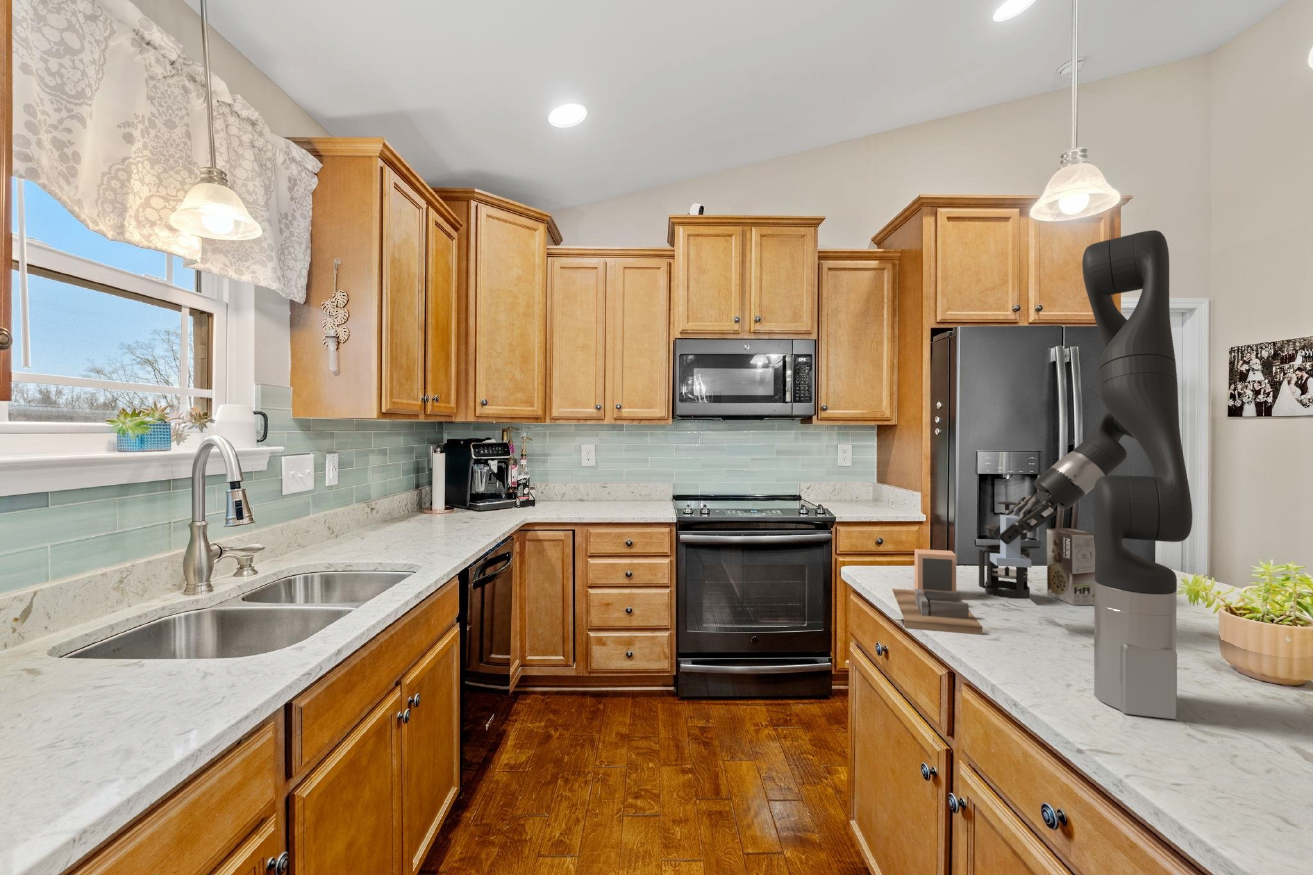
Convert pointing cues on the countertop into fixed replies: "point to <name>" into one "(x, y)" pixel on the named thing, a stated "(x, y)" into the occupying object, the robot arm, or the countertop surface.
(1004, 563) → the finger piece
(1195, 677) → the countertop surface
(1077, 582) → the coffee box
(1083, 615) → the countertop surface
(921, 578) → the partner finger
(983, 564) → the french press
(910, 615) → the rail
